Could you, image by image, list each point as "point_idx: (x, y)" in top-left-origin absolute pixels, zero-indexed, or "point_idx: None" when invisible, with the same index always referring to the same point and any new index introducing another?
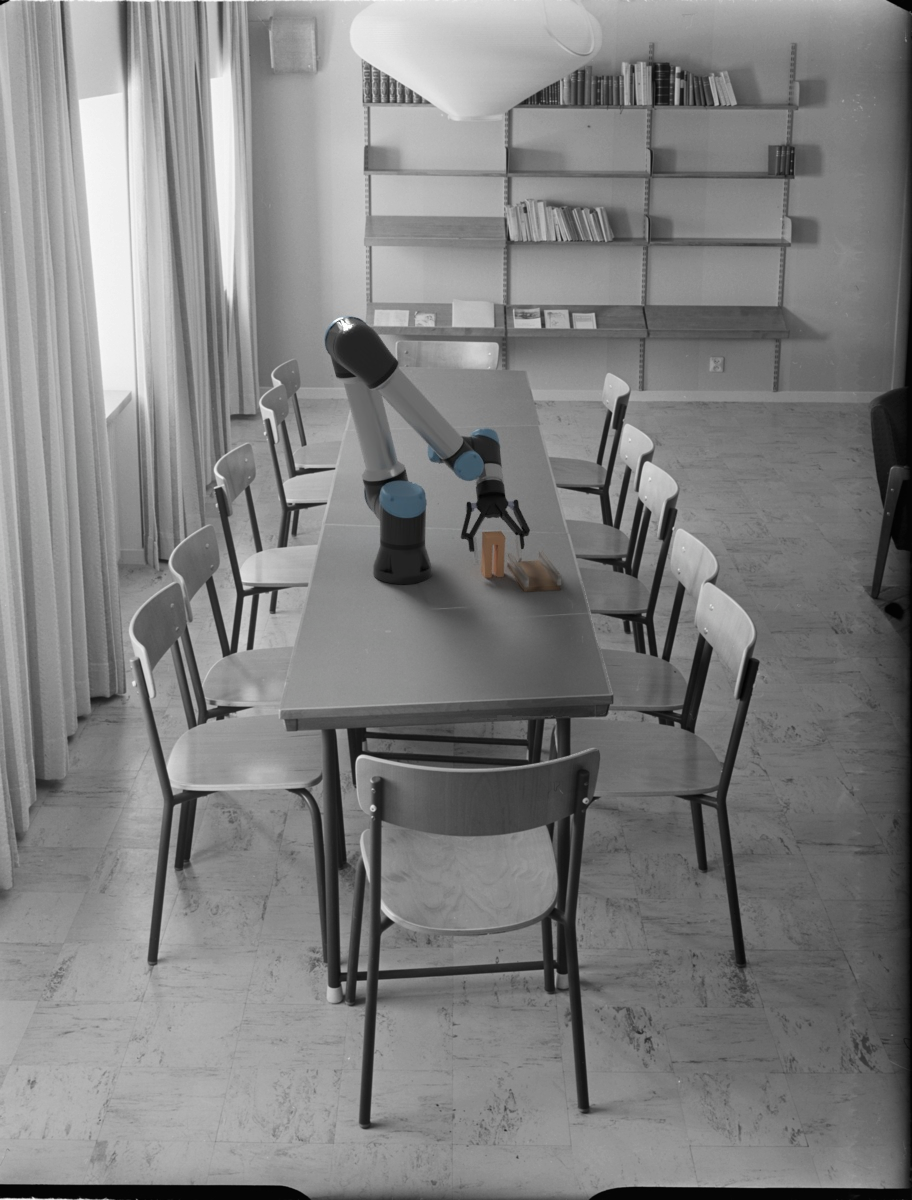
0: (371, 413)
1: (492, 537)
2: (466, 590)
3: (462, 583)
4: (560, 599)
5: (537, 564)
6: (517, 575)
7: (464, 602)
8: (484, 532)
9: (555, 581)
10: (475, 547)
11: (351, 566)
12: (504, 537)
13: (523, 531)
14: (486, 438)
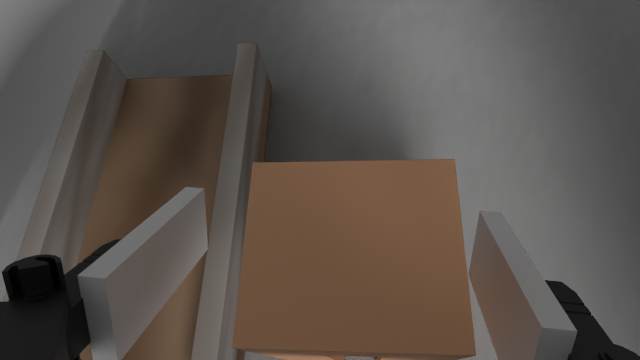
0: None
1: (385, 161)
2: (527, 133)
3: (544, 218)
4: (166, 24)
5: None
6: None
7: (542, 23)
8: (450, 330)
9: (116, 98)
10: (524, 263)
11: None
12: (261, 167)
13: (12, 265)
14: None
